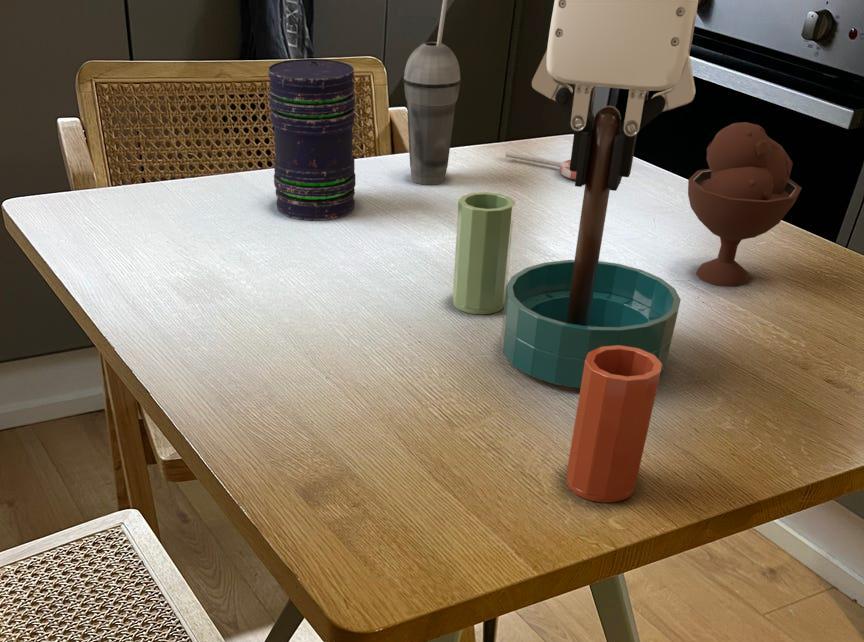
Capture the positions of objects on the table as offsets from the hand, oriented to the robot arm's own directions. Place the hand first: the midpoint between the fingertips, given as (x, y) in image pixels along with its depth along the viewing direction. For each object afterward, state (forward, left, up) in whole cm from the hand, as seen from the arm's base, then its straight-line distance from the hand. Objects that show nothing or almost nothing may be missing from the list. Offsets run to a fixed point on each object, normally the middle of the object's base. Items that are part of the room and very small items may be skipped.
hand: (598, 181), depth 78 cm
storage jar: (+37, -31, -16) cm, 51 cm away
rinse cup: (+11, -10, -16) cm, 22 cm away
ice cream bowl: (-12, -26, -16) cm, 33 cm away
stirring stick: (0, 0, -14) cm, 14 cm away
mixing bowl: (-1, -2, -16) cm, 16 cm away
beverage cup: (+27, -46, -16) cm, 56 cm away
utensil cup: (-6, +19, -16) cm, 25 cm away
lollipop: (+12, -56, -16) cm, 60 cm away
